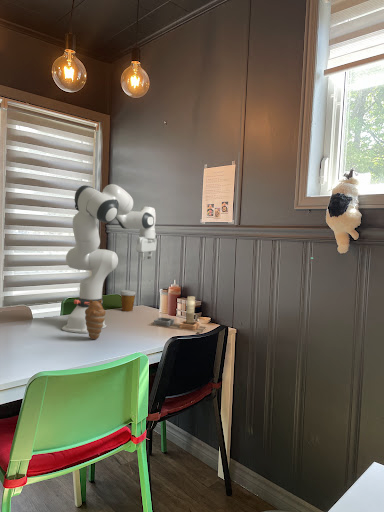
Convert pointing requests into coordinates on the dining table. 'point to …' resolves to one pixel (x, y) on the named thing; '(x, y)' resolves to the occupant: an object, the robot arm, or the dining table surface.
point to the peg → (190, 310)
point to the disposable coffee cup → (127, 300)
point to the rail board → (177, 325)
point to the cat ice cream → (94, 318)
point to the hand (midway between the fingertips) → (145, 259)
